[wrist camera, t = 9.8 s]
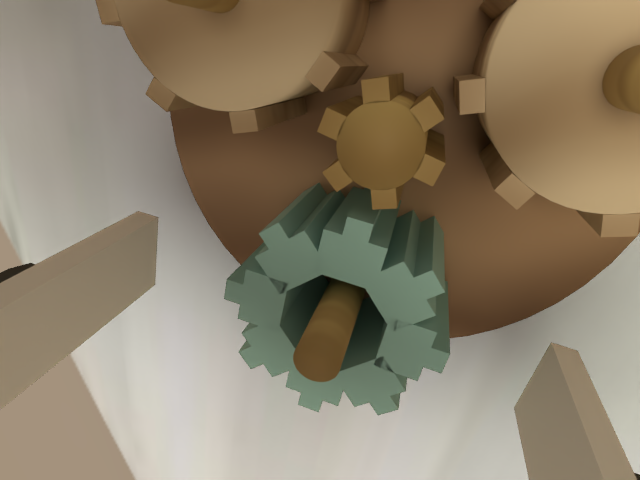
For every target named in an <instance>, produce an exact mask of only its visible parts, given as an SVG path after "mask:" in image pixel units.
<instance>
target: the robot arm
mask: <svg viewBox="0 0 640 480" xmlns="http://www.w3.org/2000/svg"><path fill="white" fill-rule="evenodd" d="M157 233H158V217H155V216H152V215H149V214H146V213H142V212H139V211H138V212H136V213H134V214H132V215H130V216H128V217H126V218H124V219H122V220H120V221H118V222H117V223H115V224H113V225H111V226H109V227H107V228H105V229H103V230H101V231H99V232H97V233H95V234H93V235H92V236H90V237H88V238H86V239H84V240H82V241H80V242H78V243H76V244H74V245H72V246H70V247H69V248H67V249H65V250H63V251H61V252H59V253H57V254H55V255H53V256H51V257H49V258H47V259H45V260H44V261H42V262H40V263H38V264H36V265H35V264H32V263H29V264H25V265H21V266H17V267H14V268H10V269H8V270H5V271H3V272H1V273H0V410H1V409H2V408H3V407H4V406H6V405H7V404H8V403H9V402H10V401H12V400H13V399H14V398H16V397H17V396H18V395H19V394H20V393H22V392H23V391H24V390H25V389H27V388H28V387H29V386H30V385H32V384H33V383H34V382H35V381H37V380H38V379H39V378H40V377H41V376H43V375H44V374H45V373H46V372H48V371H49V370H50V369H51V368H53V367H54V366H55V365H56V364H58V363H59V362H60V361H61V360H63V359H64V358H65V357H66V356H68V355H69V354H70V353H71V352H73V351H74V350H75V349H76V348H77V347H79V346H80V345H81V344H82V343H84V342H85V341H86V340H87V339H89V338H90V337H91V336H92V335H94V334H95V333H96V332H97V331H98V330H100V329H101V328H102V327H103V326H105V325H106V324H107V323H108V322H110V321H111V320H112V319H113V318H115V317H116V316H117V315H118V314H119V313H121V312H122V311H123V310H124V309H126V308H127V307H128V306H129V305H131V304H132V303H133V302H134V301H136V300H137V299H138V298H139V297H140V296H142V295H143V294H144V293H145V292H147V291H148V290H149V289H150V288H152V287H153V286H154V285H155V276H156V254H157ZM514 410H515V414H516V419H517V424H518V429H519V434H520V438H521V443H522V448H523V453H524V458H525V463H526V467H527V472H528V477H529V480H640V475H639V474H636V473H634V472H633V470H632V468H631V465H630V463H629V461H628V459H627V457H626V455H625V452H624V450H623V448H622V446H621V444H620V442H619V439H618V437H617V435H616V433H615V431H614V429H613V426H612V424H611V422H610V420H609V418H608V416H607V413H606V411H605V409H604V407H603V405H602V403H601V400H600V398H599V396H598V394H597V392H596V390H595V387H594V385H593V383H592V381H591V379H590V377H589V374H588V372H587V370H586V368H585V366H584V364H583V361H582V359H581V357H580V355H579V353H578V351H577V350H573V349H570V348H567V347H564V346H561V345H558V344H554V343H551V344H550V346H549V347H548V349H547V351H546V353H545V354H544V356H543V358H542V360H541V361H540V363H539V365H538V367H537V368H536V370H535V372H534V374H533V375H532V377H531V379H530V381H529V382H528V384H527V386H526V388H525V389H524V391H523V393H522V395H521V396H520V398H519V400H518V402H517V403H516V405H515V407H514Z"/></svg>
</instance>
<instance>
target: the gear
mask: <svg viewBox="0 0 640 480" xmlns="http://www.w3.org/2000/svg"><path fill="white" fill-rule="evenodd" d="M401 201H402V200H400V201H399V204H398V207H397V209H376V210H372V199H371V189H368V188H364V189H360V188H357V187H353V188H352V189H351V191H350V192H349V193H348V195H347V196H346V198H345V197H344V196H343V194H342V192H341V191H340V190H339V191H338V192H336V191H333V192H331V193H329V194H326V192H325V191H324V189H323V187H322V186H321V184H320V183H317V184H316V185H314V186H312V187H310V188H309V189H307V190H305V191H304V192H303V193H301V194H300V195H299V196H298V197H297V198H296V199H295V200H294V201H293V202H292V203H291V204H290V205H289V206H288V207H286V208H285V209H284V210H283V211H282V212H281V213H280V214H279V215H278V216H277V217H276V218H275V219H274V220H273V221H272V222H270V223H269V224H268V225H267V226H266V227H265V228H264V229H263V230H262V231H261V232H260V233H259V235H260V236H261V238H262V239H263V241H264V242H263V243H262V244H261V245H260V246H259V247H258V248H257V249H256V250H255V251H254V252H253V253H252V254H251V255H250V256H249V257H248V258H247V259H246V260H245V261H244V262H243V263H242V265H241V266H240V267H239V268H238V269H237V270H236V271H235V272H234V273H233V274H232V275H231V276H230V277H229V278H228V279H227V282H226V289H225V296H224V299H226V300H229V301H232V302H235V303H238V304H240V308H239V314H238V319H241V320H244V321H246V322H249V324H248V325H247V327H246V328H245V330H244V331H243V332H242V334H243V336H244V337H245V339H246V340H247V341H246V342H245V343H244V345H243V346H242V348H241V349H240V351H239V353H240V355H241V356H242V357H243V359H244V360H245V362H246V363H247V364H248V366H249V367H250V369H252V368H255V367H257V366H260V365H262V364H264V366H265V367H266V368H267V370H268V371H269V373H270V374H271V376H272V377H273V376H276V375H279V374H281V373H284V372H287V371H289V370H290V371H289V375H288V379H287V383H286V387H287V388H290V389H293V390H296V391H298V392H301V395H300V399H299V403H298V405H300V406H303V407H306V408H309V409H311V410H314V411H317V412H319V410H320V407H321V404H322V401H326V402H328V403H331V404H334V405H336V406H338V405H339V402H340V399H341V395H342V392H343V390H344V392H345V393H346V395H347V396H348V398H349V399H350V401H351V402H352V404H353V405H354V407H356V406H359V405H362V404H366V403H370V404H371V406H372V407H373V409H374V410H375V412H376V413H377V415H381V414H384V413H388V412H391V411H395V410H398V408H399V399H400V393H401V392H404V391H406V382H407V378H410V379H413V380H416V381H418V378H419V376H420V374H421V371H422V369H423V367H424V368H427V369H430V370H433V371H436V372H439V373H442V371H443V369H444V367H445V364H446V362H447V360H448V358H449V355H450V339H449V310H448V281H445V265H444V232H443V230H442V228H441V227H440V225H439V223H438V221H437V219H436V218H435V216H433V217H431V218H429V219H427V220H424V221H422V222H420V220H419V219H418V217H417V215H416V213H415V212H414V210H412V211H410V212H408V213H406V214H404V215H402V216H400V217H397V215H398V211H399V208H400V204H401ZM324 275H325V276H328V277H331V278H334V279H337V280H341V281H344V282H347V283H350V284H353V285H356V286H359V287H362V288H365V289H366V291H367V292H368V294H369V296H370V297H369V298H366V299H364V300H363V301H362V304H361V307H360V310H359V313H358V316H357V319H356V322H355V325H354V328H353V331H352V334H351V337H350V340H349V343H348V347H347V350H346V353H345V356H344V359H343V362H342V365H341V368H340V371H339V373H338V375H337V376H336V377H335V378H334V379H332V380H330V381H327V382H316V381H312V380H309V379H307V378H306V377H304V376H303V375H302V374H300V373H299V371H298V370H297V369H296V367H295V365H294V362H293V354H294V351H295V349H296V347H297V345H298V343H299V341H300V339H301V337H302V335H303V333H304V331H305V329H306V327H307V325H308V323H309V321H310V319H311V318H312V316H313V314H314V312H315V310H316V308H317V306H318V304H319V302H320V300H321V298H322V296H323V294H324V292H325V290H326V288H327V286H328V284H329V282H328V281H327V279H326V278H325V276H324Z"/></svg>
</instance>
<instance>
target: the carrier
mask: <svg viewBox="0 0 640 480" xmlns="http://www.w3.org/2000/svg"><path fill="white" fill-rule="evenodd" d="M96 4H97V7H98V11H99V15H100V18H101V22H102V24H105V25H114V26H122V27H123V28H124V31H125V33H126V35H127V37H128V39H129V41H130V43H131V45H132V47H133V49H134V50H135V52H136V53H137V55H138V56H139V58H140V59H141V61H142V62H143V64H144V65H145V66H146V67H147V68H148V70H149V71H150V72H151V73H152V74H153V76H154V78H153V80H152V82H151V84H150V86H149V88H148V90H147V92H146V95H147V96H148V97H149V98H151V99H152V100H153V101H154V102H155V103H157V104H158V105H159V106H160V107H161V108H163V109H164V110H165V111H166V112H168V111H170V112H171V120H172V126H173V131H174V137H175V142H176V147H177V151H178V154H179V157H180V161H181V164H182V167H183V171H184V174H185V176H186V179H187V181H188V183H189V186H190V188H191V191H192V193H193V195H194V198H195V200H196V202H197V204H198V206H199V207H200V209H201V211H202V213H203V215H204V216H205V218H206V220H207V222H208V224H209V225H210V227H211V228H212V229H213V231H214V232H215V234H216V235H217V236H218V238H219V239H220V241H221V242H222V244H223V245H224V246H225V247H226V249H227V250H228V251H229V252H230V253H231V254H232V255H233V257H234V258H235V259H236V260H237V261H238V262H239V263H240V265H242V263H243V262H244V261H245V260H246V259H247V258H248V257H249V256H250V255H251V254H252V253H253V252H254V251H255V250H256V249H257V248H258V247H259V246H260V245H261V244H262V243H263V242H264V241H263V239H262V238H261V236H260V235H259V233H260V232H261V231H262V230H263V229H264V228H265V227H266V226H267V225H268V224H269V223H270V222H272V221H273V220H274V219H275V218H276V217H277V216H278V215H279V214H280V213H281V212H282V211H283V210H284V209H285V208H286V207H288V206H289V205H290V204H291V203H292V202H293V201H294V200H295V199H296V198H297V197H298V196H299V195H300V194H301V193H303V192H304V191H305V190H307V189H309V188H310V187H312V186H314V185H316V184H317V183H320V184H321V186H322V187H323V189H324V191H325V192H326V194H329V193H331V192H333V191H336V192H338V191H339V190H340V191H341V192H342V194H343V196H344V197H345V198H346V196H347V195H348V193H349V192H350V191H351V189H352V188H353V187H357V188H360V189H364V188H368V189H371V199H372V210H376V209H397V207H398V204H399V201H400V200H402V201H401V204H400V208H399V211H398V215H397V217H400V216H402V215H404V214H406V213H408V212H410V211H412V210H414V212H415V213H416V215H417V217H418V219H419V220H420V222H422V221H424V220H427V219H429V218H431V217H433V216H435V218H436V219H437V221H438V223H439V225H440V227H441V228H442V230H443V232H444V265H445V281H448V310H449V338H455V337H463V336H469V335H473V334H478V333H482V332H486V331H490V330H494V329H498V328H501V327H503V326H506V325H509V324H512V323H515V322H517V321H520V320H523V319H526V318H528V317H530V316H532V315H534V314H536V313H538V312H540V311H542V310H544V309H546V308H548V307H550V306H552V305H554V304H556V303H558V302H559V301H561V300H562V299H564V298H565V297H567V296H569V295H570V294H572V293H573V292H575V291H576V290H578V289H579V288H581V287H582V286H584V285H585V284H587V283H588V282H589V281H590V280H591V279H593V278H594V277H595V276H596V275H597V274H599V273H600V272H601V271H602V270H603V269H605V268H606V267H607V266H608V265H609V264H611V263H612V262H613V261H614V260H615V259H616V258H617V257H618V256H619V254H620V253H621V252H622V251H623V250H624V249H625V248H626V247H627V246H628V245H629V244H630V243H631V242H632V241H633V240H634V239H635V238H636V237H637V235H638V234H639V233H640V0H96ZM324 276H325V275H324ZM325 278H326V279H327V281H328V282H329V284H328V286H327V288H326V290H325V292H324V294H323V296H322V298H321V300H320V302H319V304H318V306H317V308H316V310H315V312H314V314H313V316H312V318H311V319H310V321H309V323H308V325H307V327H306V329H305V331H304V333H303V335H302V337H301V339H300V341H299V343H298V345H297V347H296V349H295V351H294V354H293V362H294V365H295V367H296V369H297V370H298V371H299V373H300V374H302V375H303V376H304V377H306V378H307V379H309V380H312V381H316V382H327V381H330V380H332V379H334V378H335V377H336V376H337V375H338V373H339V371H340V368H341V365H342V362H343V359H344V356H345V353H346V350H347V347H348V343H349V340H350V337H351V334H352V331H353V328H354V325H355V322H356V319H357V316H358V313H359V310H360V307H361V304H362V301H363V300H364V299H366V298H369V297H370V296H369V294H368V292H367V291H366V289H365V288H362V287H359V286H356V285H353V284H350V283H347V282H344V281H341V280H337V279H334V278H331V277H328V276H325Z"/></svg>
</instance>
